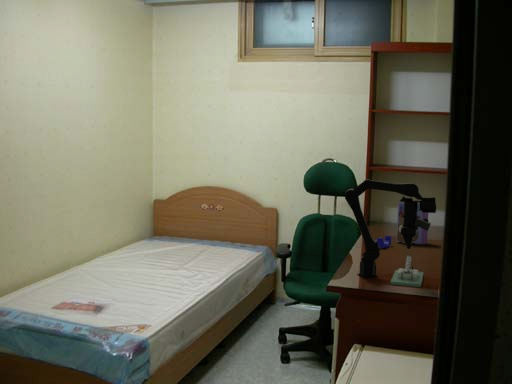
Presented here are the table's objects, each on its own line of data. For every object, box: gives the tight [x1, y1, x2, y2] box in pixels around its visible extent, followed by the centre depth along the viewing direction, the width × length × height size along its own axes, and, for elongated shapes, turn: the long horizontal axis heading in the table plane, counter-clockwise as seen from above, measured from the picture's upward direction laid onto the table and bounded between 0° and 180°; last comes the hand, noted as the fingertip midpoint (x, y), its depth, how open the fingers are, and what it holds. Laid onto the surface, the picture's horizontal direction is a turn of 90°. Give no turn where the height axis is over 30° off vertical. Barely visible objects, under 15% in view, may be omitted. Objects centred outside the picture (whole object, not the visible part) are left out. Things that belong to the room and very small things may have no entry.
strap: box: [403, 255, 412, 274], centre depth 228 cm, size 12×3×1 cm, turn 161°
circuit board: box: [390, 269, 424, 288], centre depth 229 cm, size 24×12×1 cm, turn 160°
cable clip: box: [376, 235, 392, 249], centre depth 308 cm, size 12×4×6 cm, turn 141°
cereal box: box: [396, 202, 429, 245], centre depth 323 cm, size 17×5×24 cm, turn 77°
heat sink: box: [397, 264, 419, 280], centre depth 229 cm, size 13×8×4 cm, turn 160°
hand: (409, 248), depth 231 cm, fingers closed
